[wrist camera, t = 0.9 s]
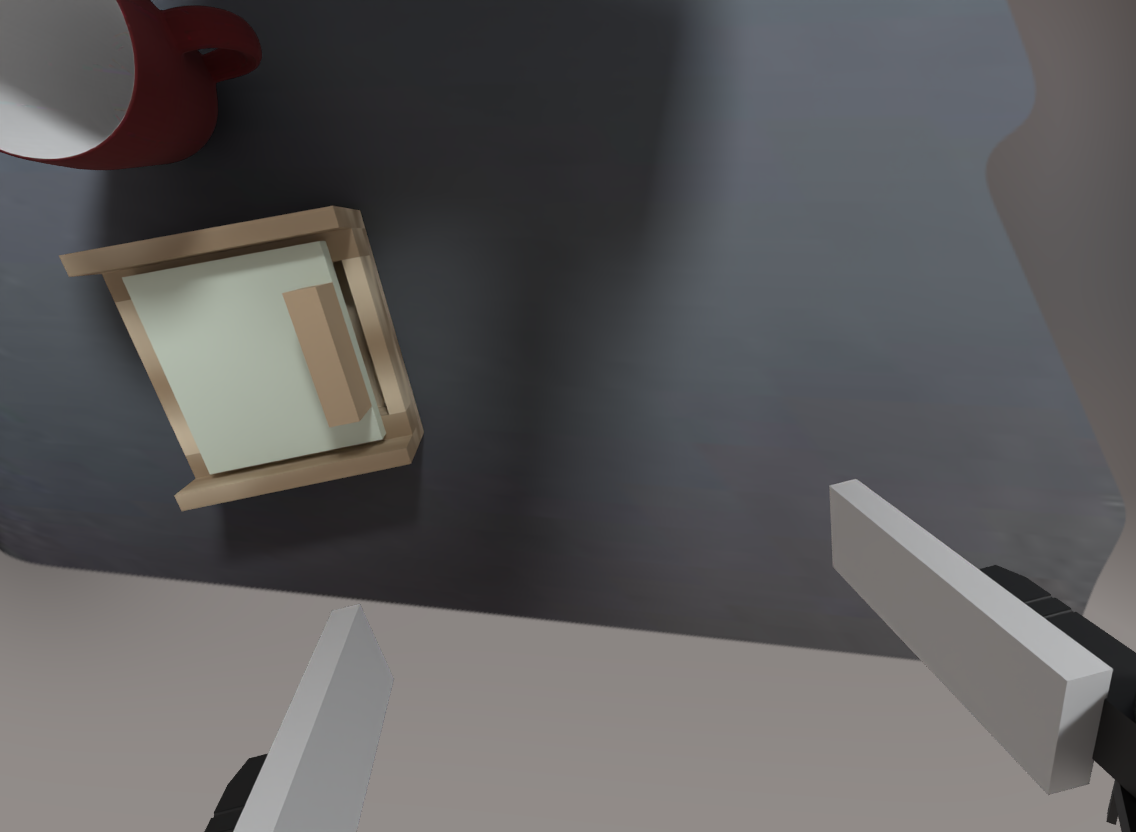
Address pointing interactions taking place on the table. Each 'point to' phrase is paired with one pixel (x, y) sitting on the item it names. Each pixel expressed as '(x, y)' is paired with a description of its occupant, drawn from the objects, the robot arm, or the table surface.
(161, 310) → the lid
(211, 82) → the mug
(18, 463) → the table surface
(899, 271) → the table surface
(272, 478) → the birch box
